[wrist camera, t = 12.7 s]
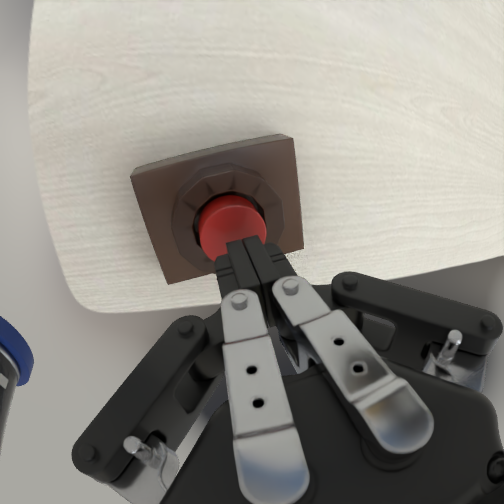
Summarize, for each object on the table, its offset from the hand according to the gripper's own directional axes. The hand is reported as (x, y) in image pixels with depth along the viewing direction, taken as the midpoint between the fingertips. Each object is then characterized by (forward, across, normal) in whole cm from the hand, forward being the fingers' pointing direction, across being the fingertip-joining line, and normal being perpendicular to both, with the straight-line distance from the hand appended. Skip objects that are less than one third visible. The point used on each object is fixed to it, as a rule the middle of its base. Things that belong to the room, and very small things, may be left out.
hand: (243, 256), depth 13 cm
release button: (+4, 0, 0) cm, 4 cm away
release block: (+8, 0, 0) cm, 8 cm away
